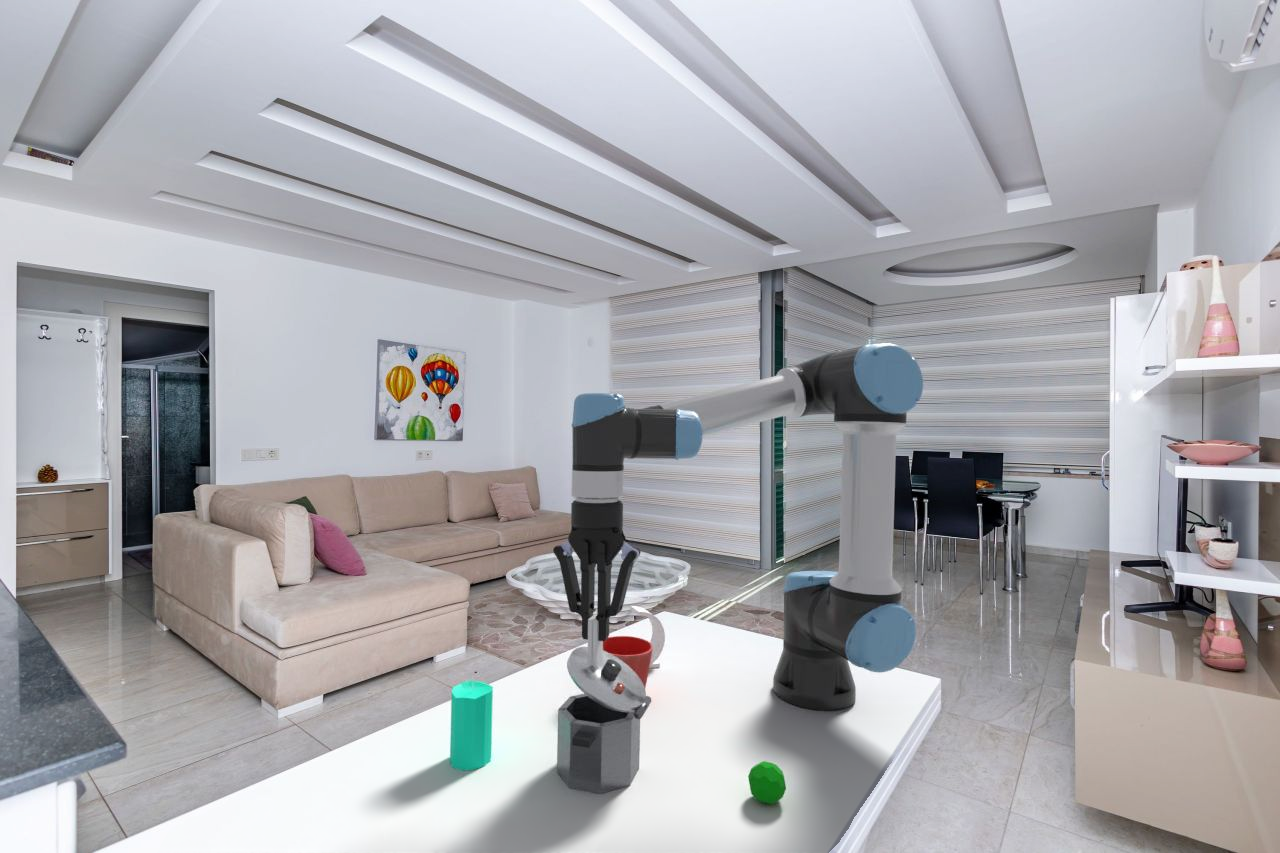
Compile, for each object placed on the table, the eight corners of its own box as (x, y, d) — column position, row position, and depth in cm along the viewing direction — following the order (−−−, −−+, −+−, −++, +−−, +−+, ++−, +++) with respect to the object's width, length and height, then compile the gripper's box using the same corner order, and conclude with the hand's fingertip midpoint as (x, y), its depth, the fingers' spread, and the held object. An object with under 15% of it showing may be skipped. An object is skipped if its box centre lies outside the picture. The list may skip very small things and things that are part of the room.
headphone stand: (629, 662, 133) (630, 606, 133) (655, 659, 135) (656, 603, 135) (638, 670, 129) (639, 612, 129) (664, 666, 131) (665, 609, 131)
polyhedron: (793, 804, 83) (794, 768, 83) (766, 815, 81) (767, 778, 81) (766, 785, 87) (767, 751, 88) (740, 796, 85) (740, 761, 85)
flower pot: (653, 686, 121) (654, 636, 121) (649, 712, 110) (650, 656, 110) (599, 683, 122) (600, 633, 122) (589, 708, 111) (590, 653, 111)
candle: (447, 753, 94) (449, 673, 94) (487, 746, 97) (489, 668, 97) (452, 773, 89) (454, 689, 89) (495, 765, 91) (496, 683, 91)
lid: (655, 695, 95) (665, 677, 94) (632, 733, 83) (644, 713, 82) (583, 644, 98) (593, 627, 98) (551, 674, 86) (562, 654, 86)
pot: (648, 751, 96) (649, 692, 96) (618, 806, 82) (620, 737, 82) (581, 740, 99) (582, 683, 99) (541, 791, 85) (542, 725, 85)
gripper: (646, 498, 93) (644, 658, 93) (565, 495, 96) (563, 649, 96) (632, 503, 86) (630, 676, 85) (545, 500, 89) (543, 666, 89)
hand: (595, 661), depth 91 cm, fingers closed
